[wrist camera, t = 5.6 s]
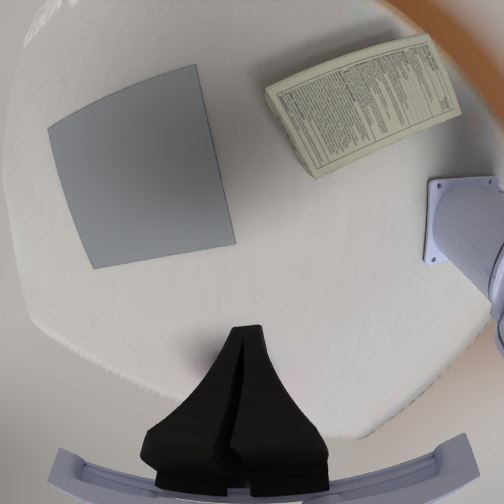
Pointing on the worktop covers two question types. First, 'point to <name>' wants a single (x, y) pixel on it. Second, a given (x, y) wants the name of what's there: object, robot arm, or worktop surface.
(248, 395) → the robot arm
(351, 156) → the skincare box
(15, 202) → the worktop surface
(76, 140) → the rubber mat
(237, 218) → the worktop surface
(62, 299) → the worktop surface
